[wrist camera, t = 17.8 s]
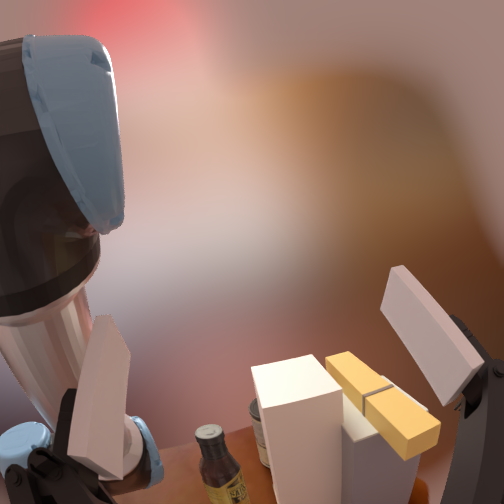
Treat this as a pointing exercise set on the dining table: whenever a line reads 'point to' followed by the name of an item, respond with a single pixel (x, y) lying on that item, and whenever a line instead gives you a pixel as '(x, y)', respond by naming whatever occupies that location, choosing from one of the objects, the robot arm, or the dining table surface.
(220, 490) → the sauce bottle
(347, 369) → the yellow long bar
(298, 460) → the cream pillar
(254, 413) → the coffee can
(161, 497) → the dining table surface
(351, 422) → the grey upright block
